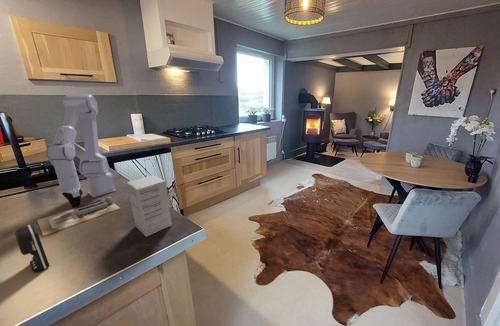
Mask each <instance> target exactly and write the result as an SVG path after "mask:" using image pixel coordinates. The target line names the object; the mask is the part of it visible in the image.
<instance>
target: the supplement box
mask: <svg viewBox="0 0 500 326" xmlns="http://www.w3.org/2000/svg"><path fill="white" fill-rule="evenodd" d="M126 187H127V192H128V195H129V199H130V201H129V202H130V205H131V209H132V216H133V221H134V226H135V227H136V229H138V231H140V232H141V234H142V235H144V237H146V238H147V237H149V236H151V235H153V234H155V233H158V232H160V231H162V230H164V229H166V228H169V227H172V225H173V223H172V216H171V210H170V203H169V196H168V189H167V183H166V180H164V179H162V178H160V177H158V176H156V175H154V174H153V175H148V176H144V177H142V178H137V179H134V180H130V181H128V182H126Z"/></svg>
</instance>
